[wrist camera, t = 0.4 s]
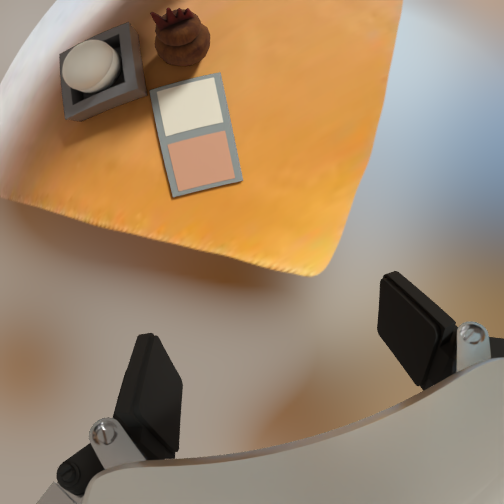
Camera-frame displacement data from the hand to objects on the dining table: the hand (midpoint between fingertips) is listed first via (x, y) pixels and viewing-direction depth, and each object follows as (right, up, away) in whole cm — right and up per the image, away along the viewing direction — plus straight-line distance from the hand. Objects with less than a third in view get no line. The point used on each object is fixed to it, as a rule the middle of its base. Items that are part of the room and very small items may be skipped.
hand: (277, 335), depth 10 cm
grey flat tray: (-9, +19, +24) cm, 32 cm away
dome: (-21, +27, +15) cm, 38 cm away
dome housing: (-22, +29, +18) cm, 40 cm away
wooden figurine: (-10, +31, +19) cm, 38 cm away
